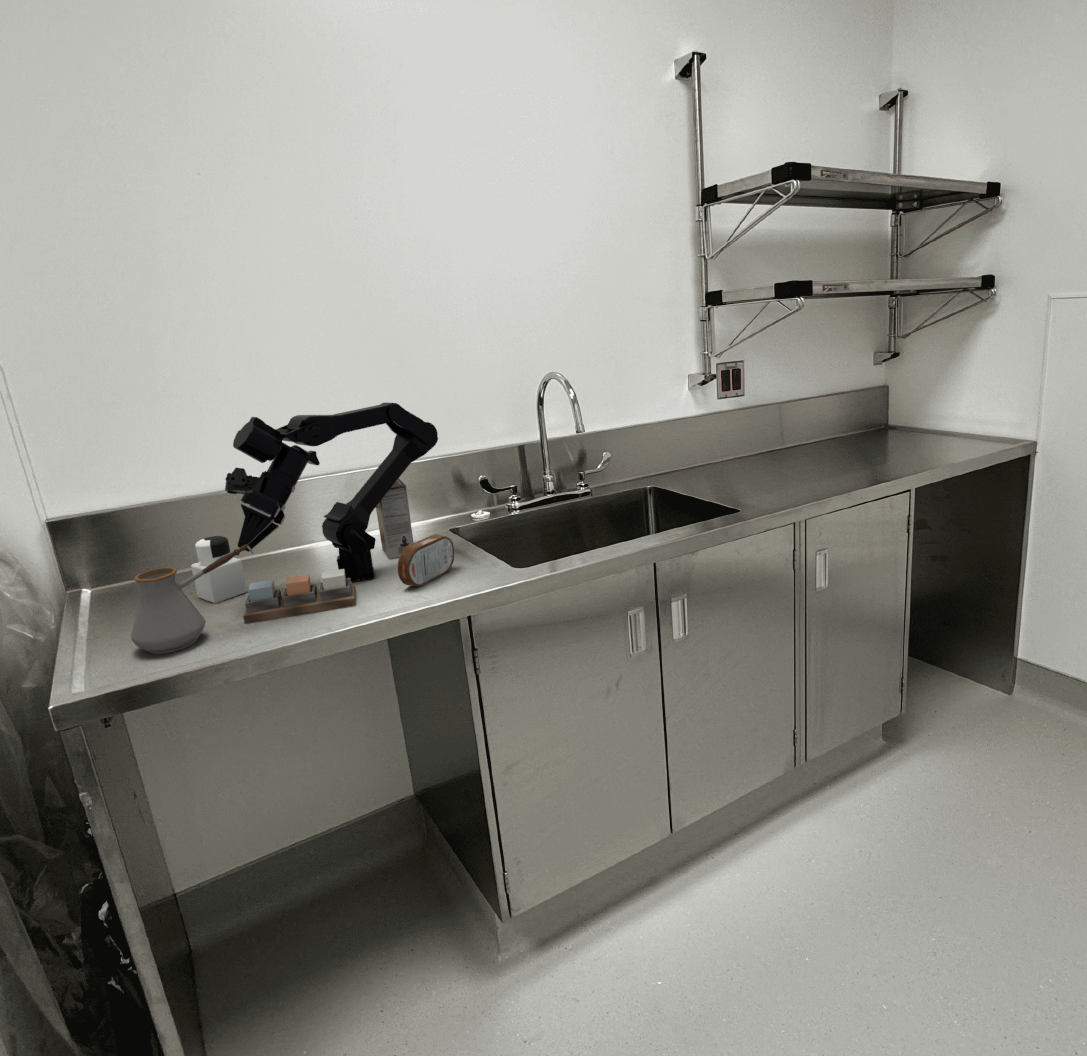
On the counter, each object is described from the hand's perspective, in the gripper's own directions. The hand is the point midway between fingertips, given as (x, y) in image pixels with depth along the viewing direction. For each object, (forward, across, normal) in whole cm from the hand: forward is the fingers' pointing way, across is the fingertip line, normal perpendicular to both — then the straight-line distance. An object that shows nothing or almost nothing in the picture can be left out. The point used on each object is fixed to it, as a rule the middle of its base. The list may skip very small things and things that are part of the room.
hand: (243, 549), depth 135 cm
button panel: (+5, -1, +14) cm, 15 cm away
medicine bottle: (+10, -16, -1) cm, 19 cm away
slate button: (+7, 0, +7) cm, 10 cm away
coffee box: (-14, -25, +27) cm, 39 cm away
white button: (0, 0, +18) cm, 18 cm away
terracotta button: (+3, 0, +13) cm, 13 cm away
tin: (-10, -3, +34) cm, 35 cm away
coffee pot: (+17, +5, +2) cm, 18 cm away
